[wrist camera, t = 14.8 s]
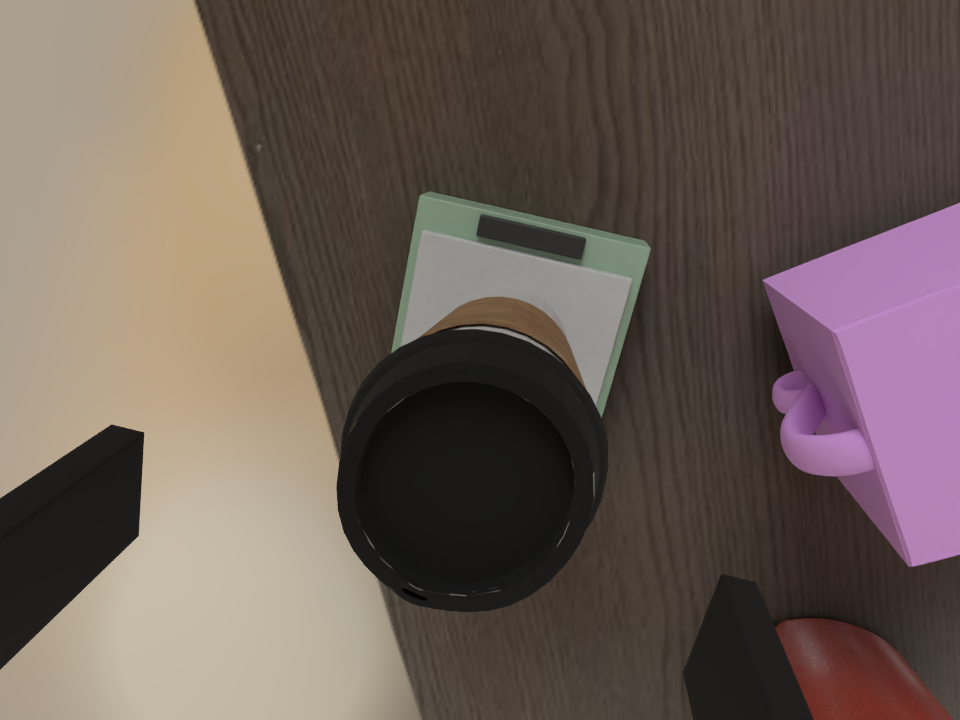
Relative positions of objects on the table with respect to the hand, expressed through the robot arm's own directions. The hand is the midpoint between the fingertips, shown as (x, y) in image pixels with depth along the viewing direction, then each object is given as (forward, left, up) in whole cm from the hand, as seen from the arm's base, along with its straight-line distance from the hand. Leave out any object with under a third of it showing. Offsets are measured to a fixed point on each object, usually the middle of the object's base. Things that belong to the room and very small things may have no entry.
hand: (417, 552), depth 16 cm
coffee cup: (+1, -1, -19) cm, 19 cm away
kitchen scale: (+1, -1, -22) cm, 22 cm away
